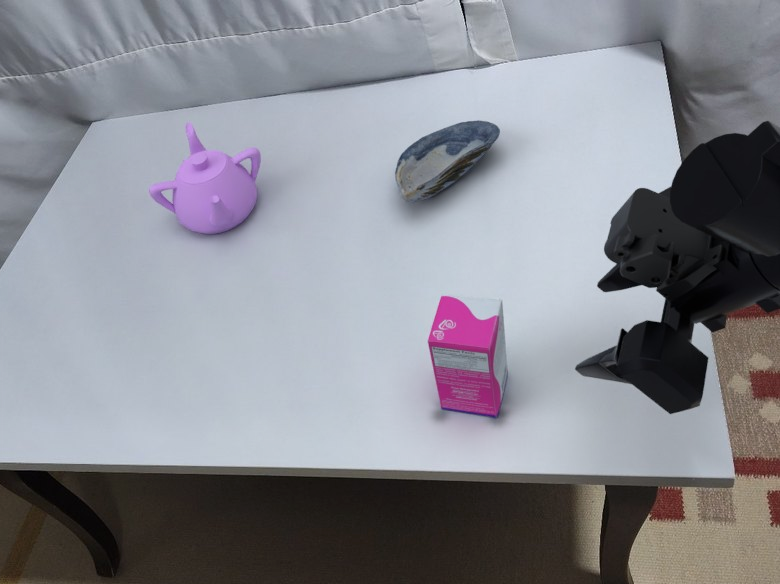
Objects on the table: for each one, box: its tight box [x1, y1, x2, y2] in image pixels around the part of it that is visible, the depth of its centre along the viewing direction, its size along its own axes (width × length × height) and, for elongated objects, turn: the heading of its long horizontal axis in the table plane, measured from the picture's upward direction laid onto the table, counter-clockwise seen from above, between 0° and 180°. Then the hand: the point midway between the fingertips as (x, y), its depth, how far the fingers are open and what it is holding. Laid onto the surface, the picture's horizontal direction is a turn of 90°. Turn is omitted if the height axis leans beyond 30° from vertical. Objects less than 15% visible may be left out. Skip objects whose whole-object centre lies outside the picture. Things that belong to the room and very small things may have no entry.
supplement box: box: [427, 294, 509, 419], centre depth 71 cm, size 6×6×12 cm
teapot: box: [148, 122, 262, 235], centre depth 99 cm, size 12×14×9 cm
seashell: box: [394, 120, 501, 203], centre depth 94 cm, size 15×12×5 cm
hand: (590, 328), depth 64 cm, fingers open, 9 cm apart
